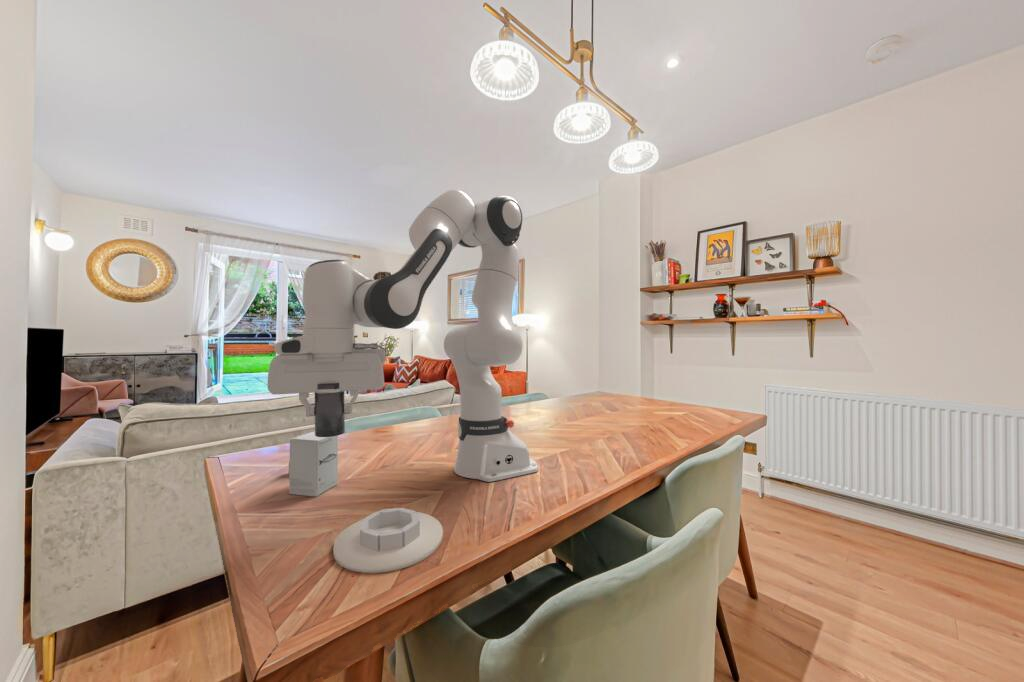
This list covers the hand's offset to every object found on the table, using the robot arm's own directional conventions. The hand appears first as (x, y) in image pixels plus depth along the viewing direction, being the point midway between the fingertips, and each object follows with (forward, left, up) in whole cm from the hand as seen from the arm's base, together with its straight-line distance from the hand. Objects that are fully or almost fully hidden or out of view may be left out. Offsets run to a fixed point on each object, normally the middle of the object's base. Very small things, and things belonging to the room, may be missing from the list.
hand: (329, 414), depth 73 cm
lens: (0, 0, -4) cm, 4 cm away
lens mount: (-11, +12, -20) cm, 26 cm away
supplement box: (+5, -17, -21) cm, 27 cm away
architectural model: (+10, -29, -21) cm, 37 cm away
